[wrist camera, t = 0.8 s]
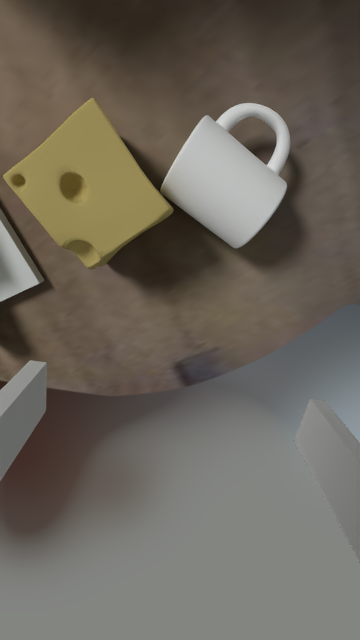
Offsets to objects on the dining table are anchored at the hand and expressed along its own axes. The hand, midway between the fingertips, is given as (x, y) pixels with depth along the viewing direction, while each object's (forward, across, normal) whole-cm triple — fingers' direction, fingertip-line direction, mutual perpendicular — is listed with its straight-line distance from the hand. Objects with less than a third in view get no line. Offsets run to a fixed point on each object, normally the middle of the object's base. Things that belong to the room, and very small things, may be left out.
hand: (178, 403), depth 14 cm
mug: (+24, +4, +14) cm, 28 cm away
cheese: (+24, -9, +9) cm, 27 cm away
